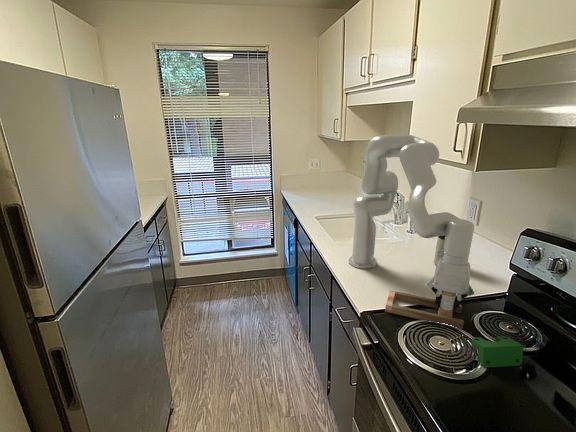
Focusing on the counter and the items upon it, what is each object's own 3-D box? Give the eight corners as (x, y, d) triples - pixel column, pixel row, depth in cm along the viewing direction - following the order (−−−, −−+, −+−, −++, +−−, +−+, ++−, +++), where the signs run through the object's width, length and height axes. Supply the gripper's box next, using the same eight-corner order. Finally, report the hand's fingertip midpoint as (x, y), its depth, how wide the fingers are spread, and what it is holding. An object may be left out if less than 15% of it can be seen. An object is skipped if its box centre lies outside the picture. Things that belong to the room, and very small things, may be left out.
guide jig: (389, 296, 122) (389, 290, 122) (460, 310, 113) (461, 304, 112) (385, 311, 113) (385, 305, 112) (462, 329, 104) (463, 322, 103)
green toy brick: (499, 366, 94) (511, 338, 94) (515, 378, 88) (528, 347, 88) (463, 352, 93) (475, 323, 93) (476, 363, 87) (490, 332, 87)
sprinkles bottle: (440, 309, 113) (446, 275, 109) (454, 314, 110) (460, 279, 106) (435, 315, 110) (441, 280, 106) (449, 321, 107) (456, 284, 103)
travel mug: (456, 266, 146) (463, 228, 141) (445, 270, 143) (451, 231, 137) (441, 259, 153) (447, 223, 147) (429, 263, 149) (435, 226, 144)
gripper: (426, 257, 104) (418, 307, 109) (486, 267, 97) (475, 319, 103) (426, 248, 110) (419, 296, 116) (483, 257, 104) (473, 307, 109)
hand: (446, 306), depth 109 cm, fingers closed on sprinkles bottle, 4 cm apart
